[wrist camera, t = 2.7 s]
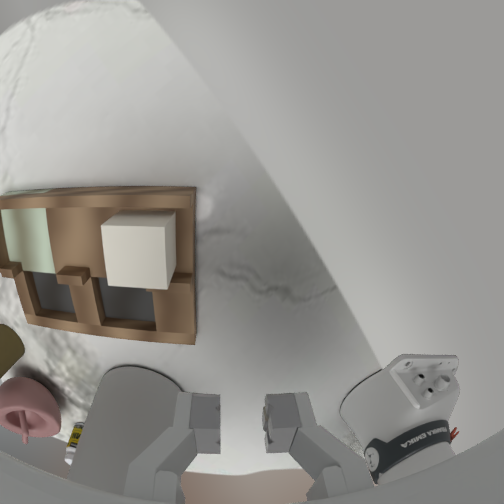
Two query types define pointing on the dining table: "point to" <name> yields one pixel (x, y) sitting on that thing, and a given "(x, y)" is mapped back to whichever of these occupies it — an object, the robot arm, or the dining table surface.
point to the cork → (9, 348)
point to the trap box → (95, 262)
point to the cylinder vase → (122, 426)
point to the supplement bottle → (73, 442)
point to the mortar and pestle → (28, 408)
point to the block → (140, 248)
